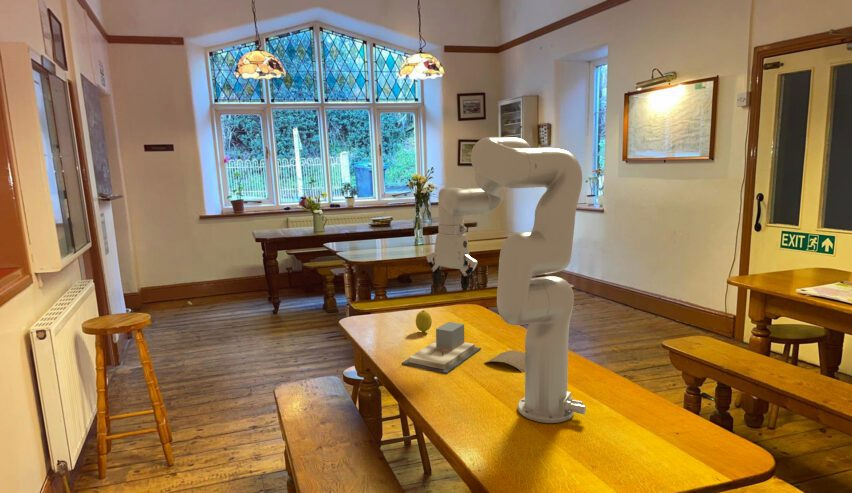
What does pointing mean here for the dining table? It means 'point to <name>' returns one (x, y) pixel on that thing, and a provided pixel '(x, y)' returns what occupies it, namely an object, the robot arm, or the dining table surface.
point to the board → (441, 357)
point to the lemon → (423, 321)
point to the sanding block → (450, 336)
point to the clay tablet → (512, 359)
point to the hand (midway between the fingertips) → (451, 285)
